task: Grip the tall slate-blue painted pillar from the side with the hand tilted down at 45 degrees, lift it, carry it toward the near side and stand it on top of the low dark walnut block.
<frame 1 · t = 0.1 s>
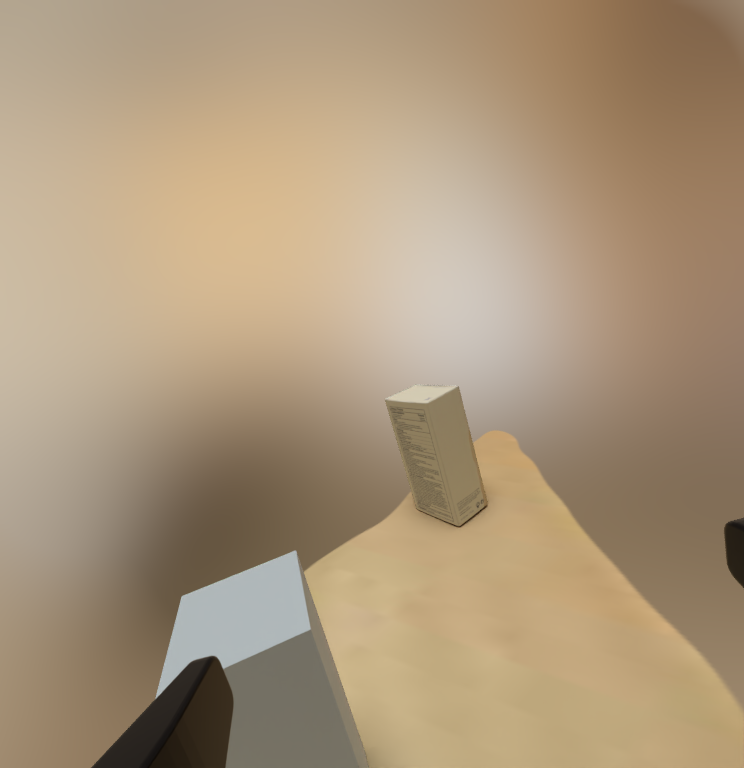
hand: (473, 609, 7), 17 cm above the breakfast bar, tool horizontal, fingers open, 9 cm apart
skincare box: (449, 509, 41), on the breakfast bar
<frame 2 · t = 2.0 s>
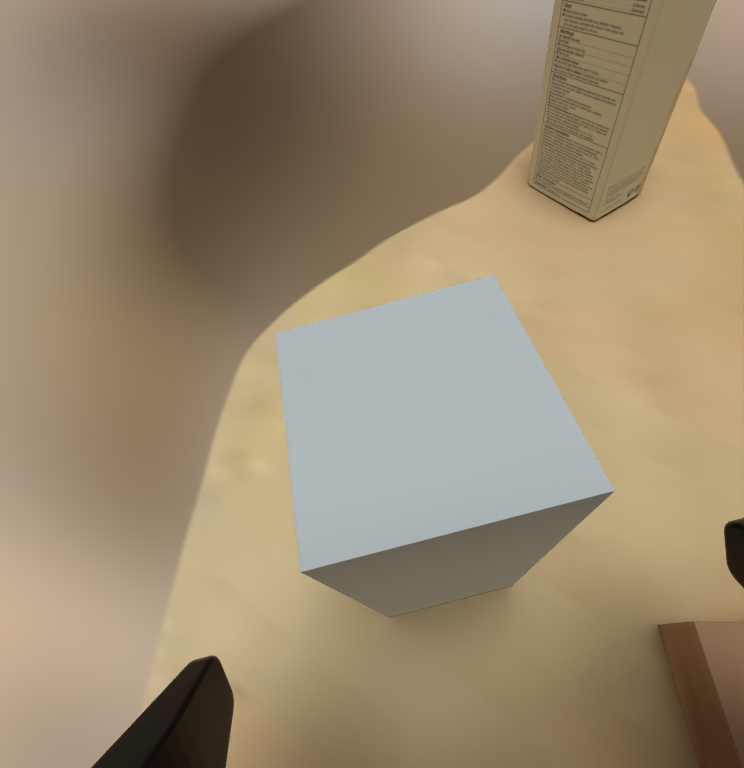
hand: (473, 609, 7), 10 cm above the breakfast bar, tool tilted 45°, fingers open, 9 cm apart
skincare box: (577, 192, 29), on the breakfast bar
pillar: (432, 537, 18), on the breakfast bar
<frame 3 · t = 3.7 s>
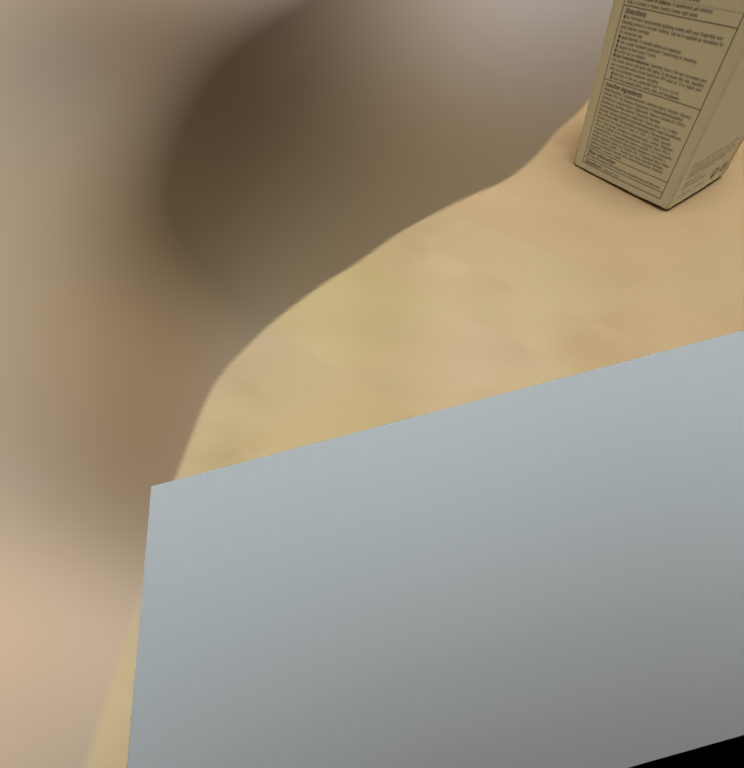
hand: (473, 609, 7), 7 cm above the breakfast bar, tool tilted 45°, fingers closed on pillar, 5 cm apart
skincare box: (639, 173, 23), on the breakfast bar
pillar: (476, 678, 12), on the breakfast bar, touching gripper
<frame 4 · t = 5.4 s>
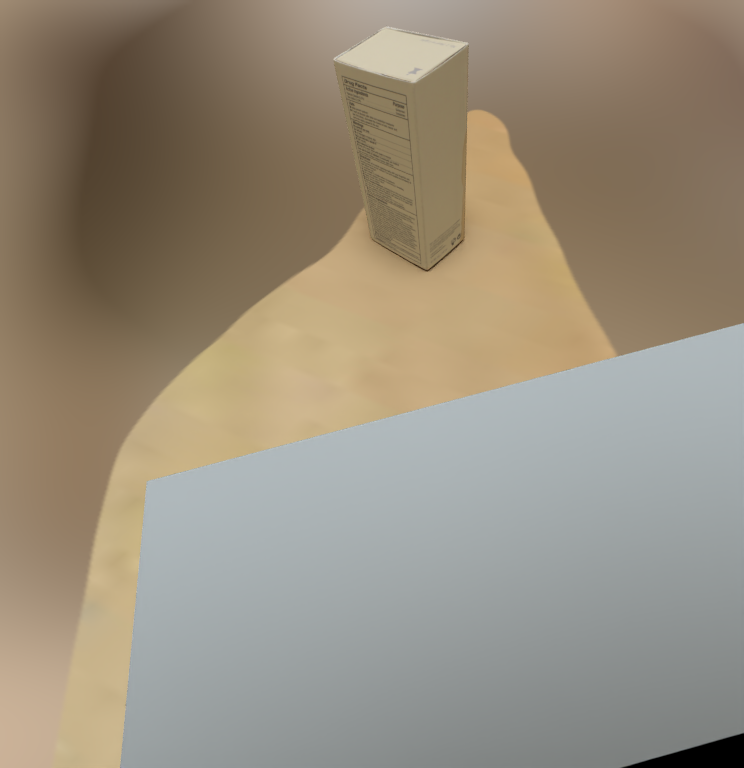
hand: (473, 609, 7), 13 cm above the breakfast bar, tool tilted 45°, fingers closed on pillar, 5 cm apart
skincare box: (414, 241, 32), on the breakfast bar
pillar: (474, 676, 12), point 7 cm above the breakfast bar, touching gripper
when the fingers open (10 cm above the breakfast bar, at t = 6.9 s): pillar drops 1 cm, point 3 cm above the breakfast bar.
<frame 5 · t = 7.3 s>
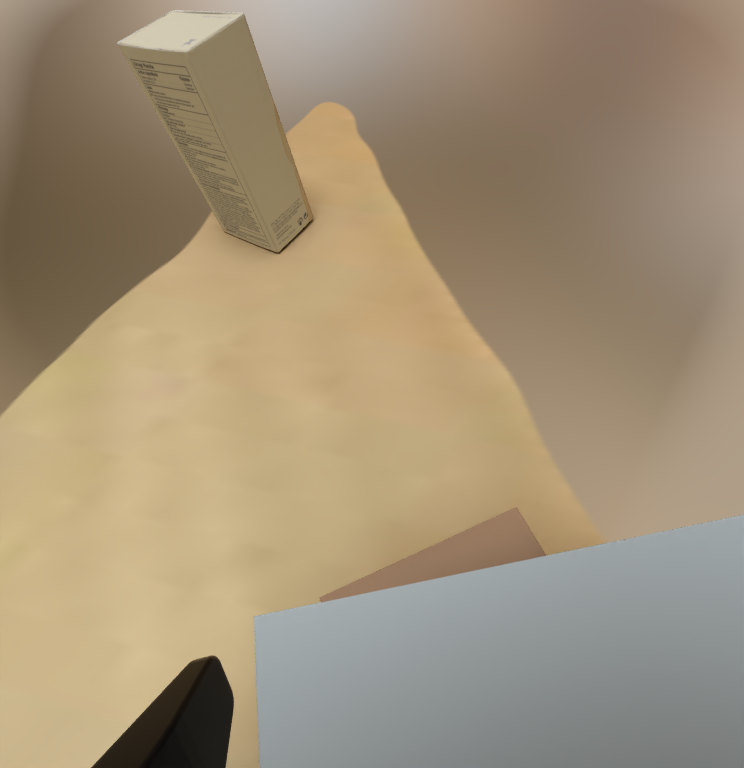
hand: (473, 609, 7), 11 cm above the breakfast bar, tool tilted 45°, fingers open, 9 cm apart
skincare box: (267, 228, 31), on the breakfast bar
walnut block: (469, 669, 16), on the breakfast bar
pillar: (475, 677, 13), point 3 cm above the breakfast bar
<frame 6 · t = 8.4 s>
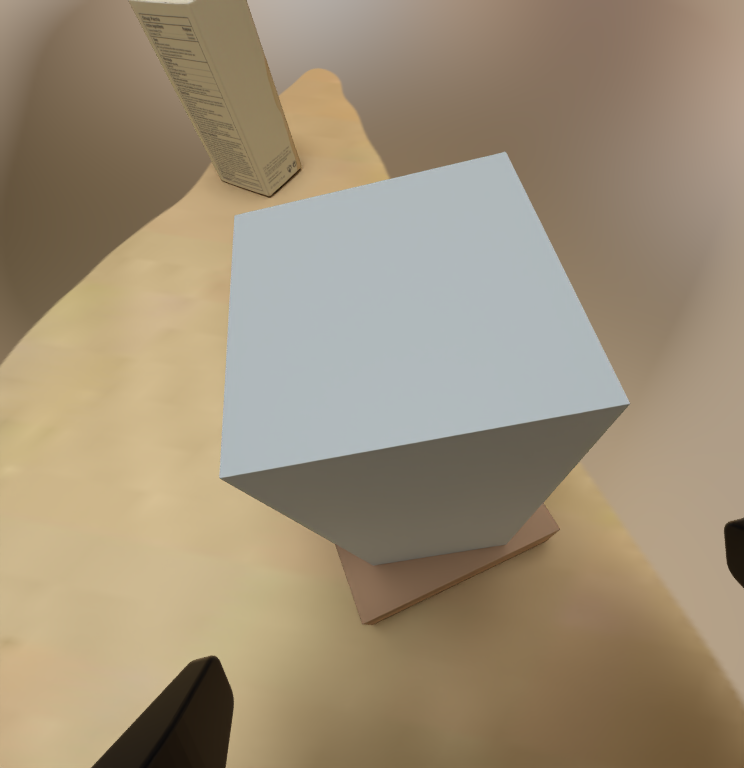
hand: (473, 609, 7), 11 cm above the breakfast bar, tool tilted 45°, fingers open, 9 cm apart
skincare box: (260, 177, 35), on the breakfast bar
walnut block: (419, 497, 20), on the breakfast bar
pillar: (426, 489, 17), point 3 cm above the breakfast bar
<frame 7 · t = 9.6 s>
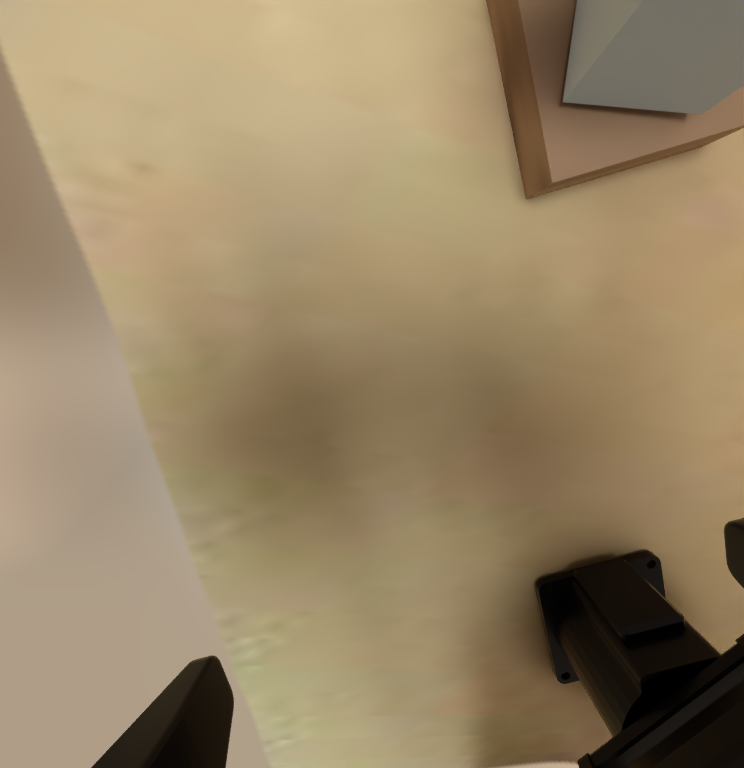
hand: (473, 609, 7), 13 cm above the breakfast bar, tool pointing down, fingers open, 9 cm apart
walnut block: (592, 80, 18), on the breakfast bar
pillar: (643, 32, 15), point 3 cm above the breakfast bar, tilted 5°
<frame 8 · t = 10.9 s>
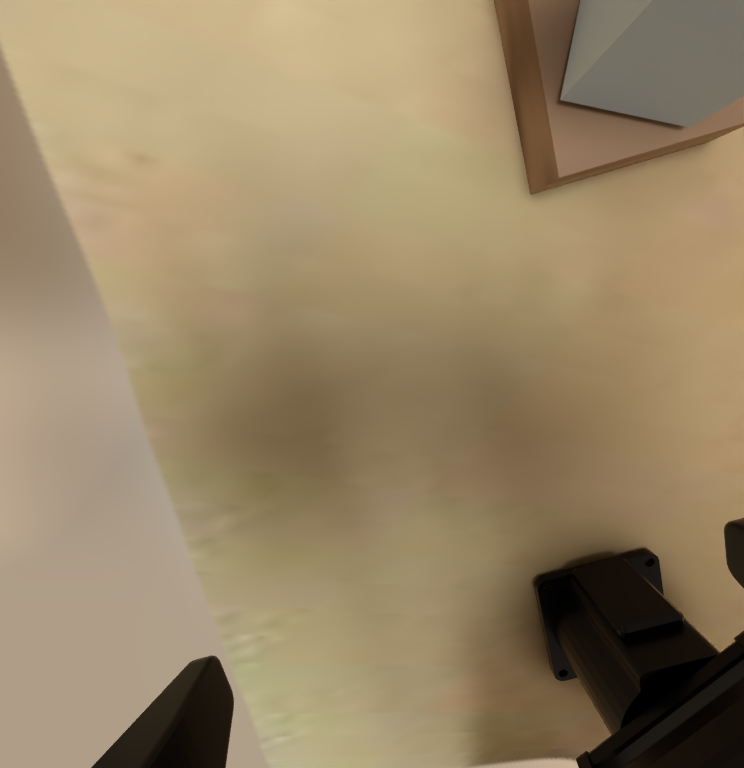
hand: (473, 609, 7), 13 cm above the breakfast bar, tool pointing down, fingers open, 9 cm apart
walnut block: (598, 74, 18), on the breakfast bar
pillar: (642, 39, 15), point 3 cm above the breakfast bar
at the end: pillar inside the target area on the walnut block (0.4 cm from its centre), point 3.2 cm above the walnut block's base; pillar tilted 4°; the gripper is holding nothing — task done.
